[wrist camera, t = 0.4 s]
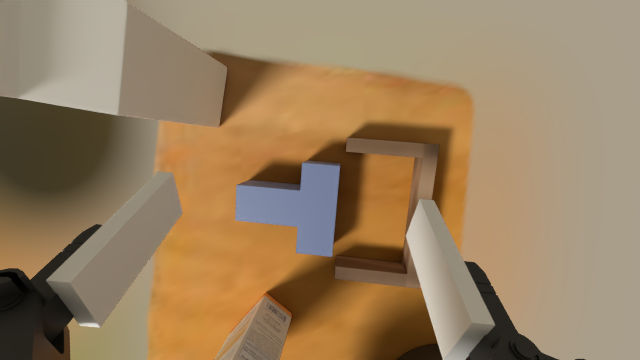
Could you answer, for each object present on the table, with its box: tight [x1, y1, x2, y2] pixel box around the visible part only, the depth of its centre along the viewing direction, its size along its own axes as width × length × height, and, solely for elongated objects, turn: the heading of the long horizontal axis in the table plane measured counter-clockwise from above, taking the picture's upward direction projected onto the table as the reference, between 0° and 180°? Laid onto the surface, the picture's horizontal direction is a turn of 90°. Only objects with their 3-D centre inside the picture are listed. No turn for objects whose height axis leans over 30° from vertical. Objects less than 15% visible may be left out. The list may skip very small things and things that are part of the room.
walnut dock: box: [335, 138, 439, 289], centre depth 31 cm, size 16×10×3 cm, turn 176°
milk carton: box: [0, 0, 227, 127], centre depth 23 cm, size 7×7×19 cm
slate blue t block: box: [235, 160, 340, 257], centre depth 31 cm, size 11×10×4 cm
